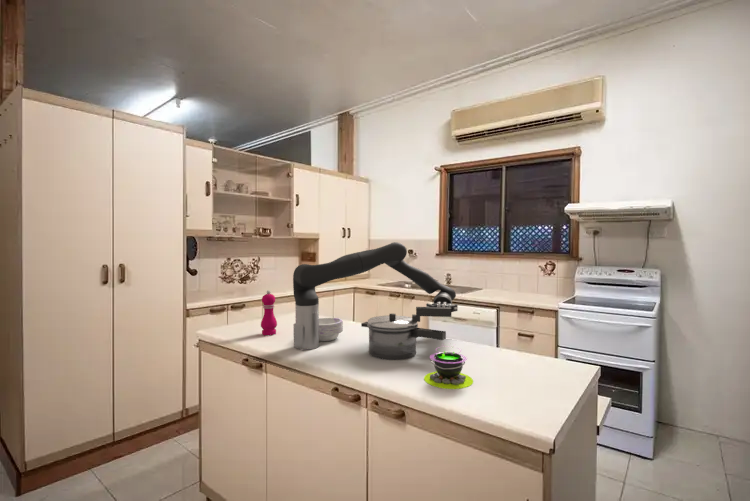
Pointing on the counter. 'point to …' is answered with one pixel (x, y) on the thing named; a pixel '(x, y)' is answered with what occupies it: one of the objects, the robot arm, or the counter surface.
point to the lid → (408, 318)
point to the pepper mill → (268, 315)
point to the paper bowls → (329, 328)
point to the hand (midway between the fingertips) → (440, 311)
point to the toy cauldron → (448, 371)
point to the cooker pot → (398, 341)
